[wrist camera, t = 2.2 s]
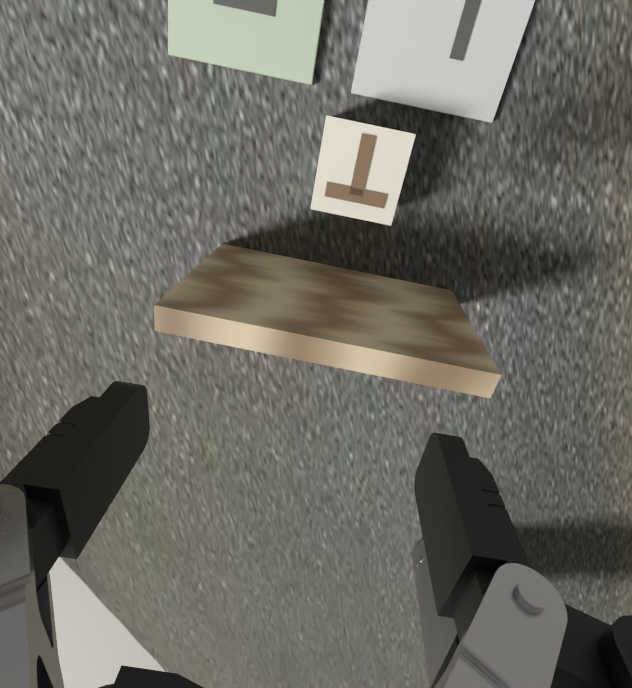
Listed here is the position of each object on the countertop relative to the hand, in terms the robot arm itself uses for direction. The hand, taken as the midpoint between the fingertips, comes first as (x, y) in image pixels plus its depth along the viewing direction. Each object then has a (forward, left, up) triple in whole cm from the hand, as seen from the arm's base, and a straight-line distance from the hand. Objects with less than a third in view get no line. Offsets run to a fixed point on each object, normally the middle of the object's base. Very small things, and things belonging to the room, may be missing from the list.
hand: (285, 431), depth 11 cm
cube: (-1, -5, -21) cm, 22 cm away
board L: (-4, -14, -21) cm, 26 cm away
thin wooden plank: (-1, +3, -21) cm, 21 cm away
